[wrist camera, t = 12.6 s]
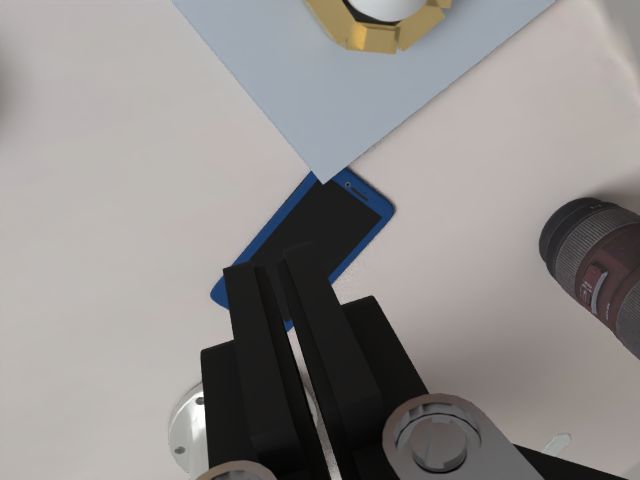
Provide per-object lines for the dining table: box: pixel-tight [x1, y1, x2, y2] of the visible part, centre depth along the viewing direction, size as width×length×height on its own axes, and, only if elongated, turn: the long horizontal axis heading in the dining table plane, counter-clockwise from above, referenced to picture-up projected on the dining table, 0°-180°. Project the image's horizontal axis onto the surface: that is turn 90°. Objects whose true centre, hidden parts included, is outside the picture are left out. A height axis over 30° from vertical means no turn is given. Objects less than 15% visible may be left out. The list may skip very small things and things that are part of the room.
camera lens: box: [539, 198, 640, 360], centre depth 41 cm, size 8×8×15 cm
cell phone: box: [210, 167, 394, 332], centre depth 42 cm, size 7×14×1 cm, turn 139°
